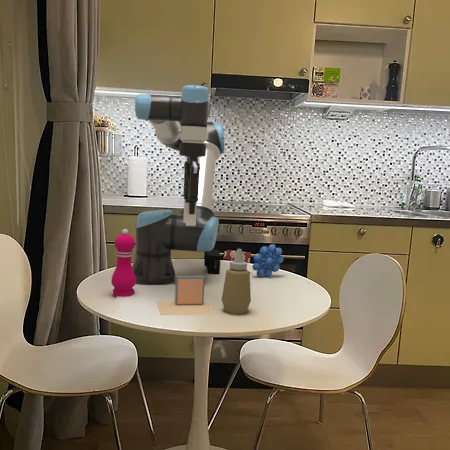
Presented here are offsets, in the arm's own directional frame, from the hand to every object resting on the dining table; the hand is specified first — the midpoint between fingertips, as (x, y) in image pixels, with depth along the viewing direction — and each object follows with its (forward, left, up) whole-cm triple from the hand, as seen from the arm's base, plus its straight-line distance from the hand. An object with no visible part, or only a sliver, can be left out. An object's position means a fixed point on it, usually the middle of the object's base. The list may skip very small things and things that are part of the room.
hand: (189, 223), depth 148 cm
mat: (+9, -2, -23) cm, 24 cm away
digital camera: (-35, +14, -23) cm, 44 cm away
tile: (+6, 0, -22) cm, 23 cm away
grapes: (-27, +33, -23) cm, 48 cm away
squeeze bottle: (+13, +12, -23) cm, 29 cm away
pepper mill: (-5, -18, -23) cm, 30 cm away
